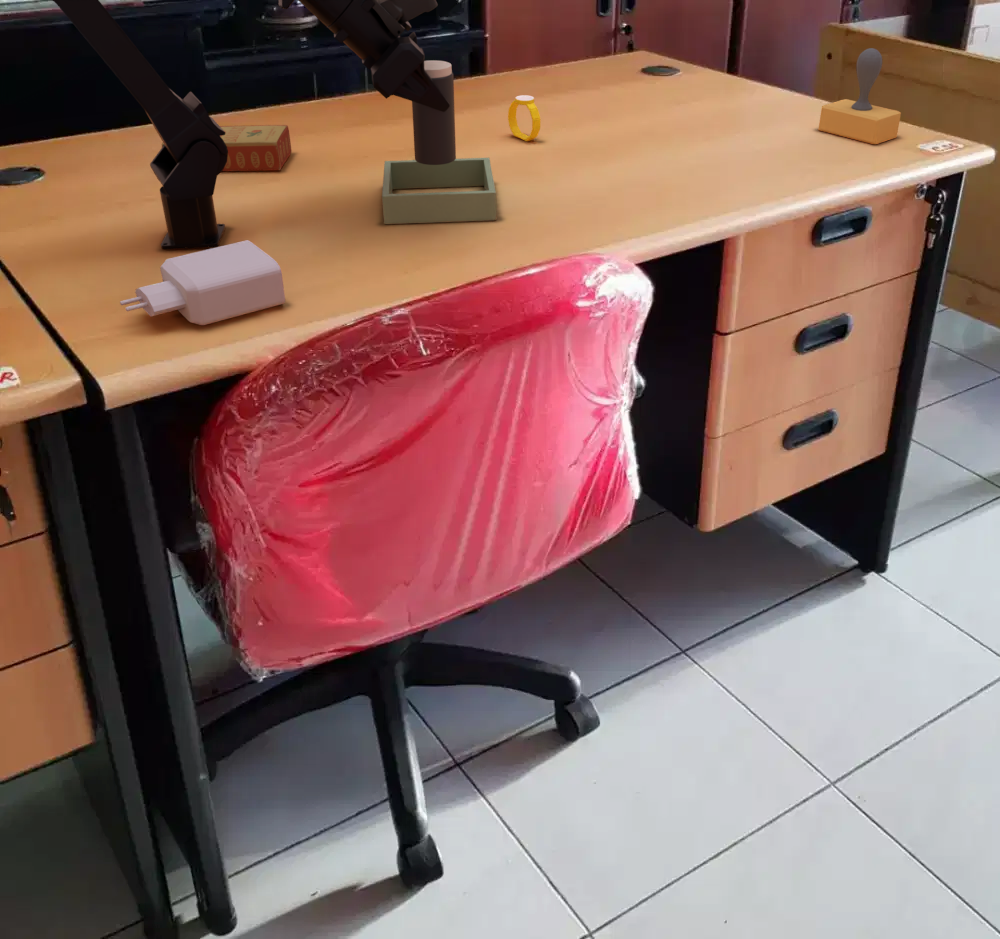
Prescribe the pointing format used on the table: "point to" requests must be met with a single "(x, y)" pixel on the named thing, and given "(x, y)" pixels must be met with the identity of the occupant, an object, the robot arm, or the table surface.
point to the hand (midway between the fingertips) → (444, 103)
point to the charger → (214, 284)
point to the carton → (256, 147)
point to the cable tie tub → (436, 120)
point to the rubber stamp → (861, 108)
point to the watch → (535, 116)
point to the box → (438, 203)
